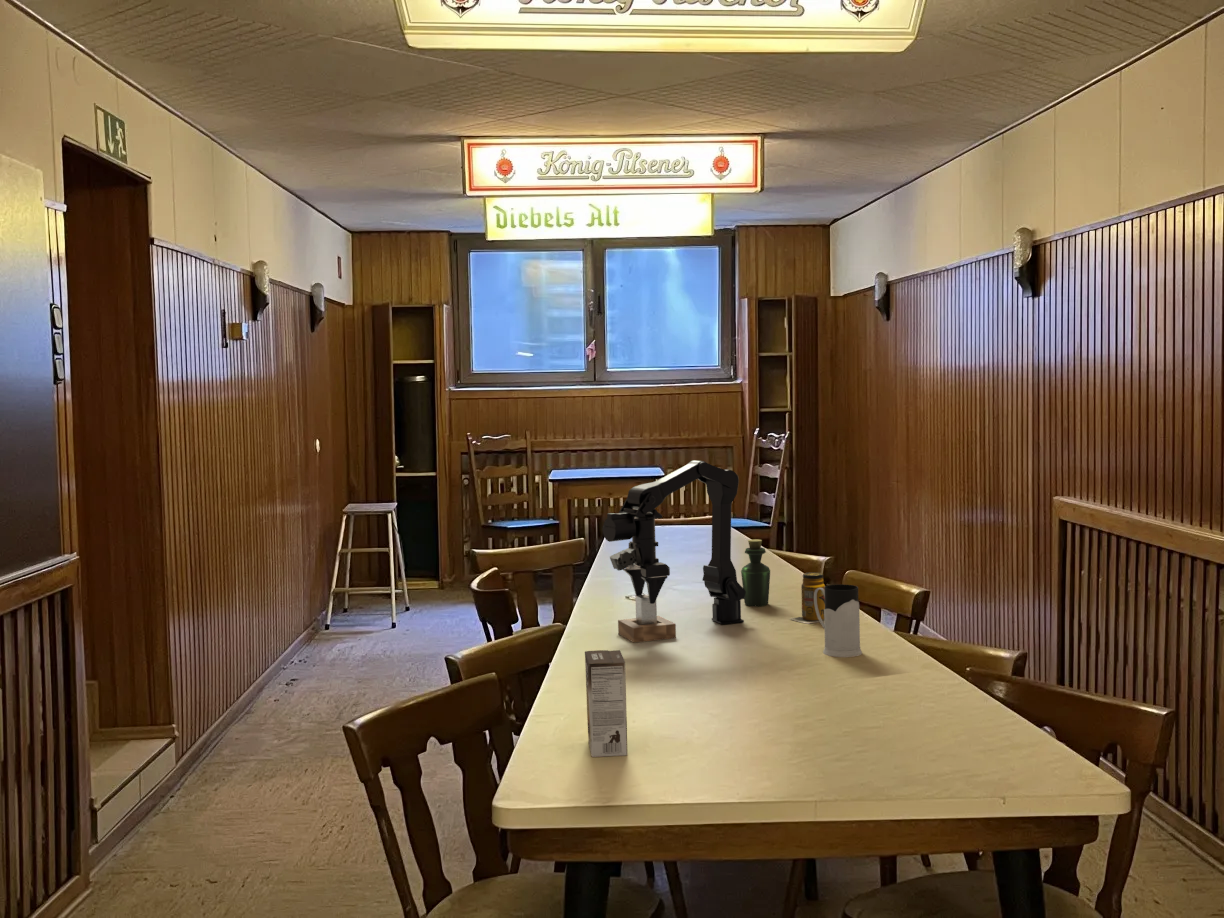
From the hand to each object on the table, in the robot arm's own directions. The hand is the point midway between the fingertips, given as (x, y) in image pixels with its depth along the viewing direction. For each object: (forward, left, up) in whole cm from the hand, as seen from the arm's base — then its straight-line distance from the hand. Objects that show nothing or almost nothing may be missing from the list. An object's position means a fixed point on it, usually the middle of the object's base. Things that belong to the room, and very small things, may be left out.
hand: (645, 600), depth 281 cm
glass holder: (-33, +34, -9) cm, 48 cm away
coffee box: (+38, +78, -9) cm, 88 cm away
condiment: (-45, +2, -9) cm, 46 cm away
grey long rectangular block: (0, 0, -9) cm, 9 cm away
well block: (0, 0, -9) cm, 9 cm away
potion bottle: (-42, -23, -9) cm, 49 cm away
